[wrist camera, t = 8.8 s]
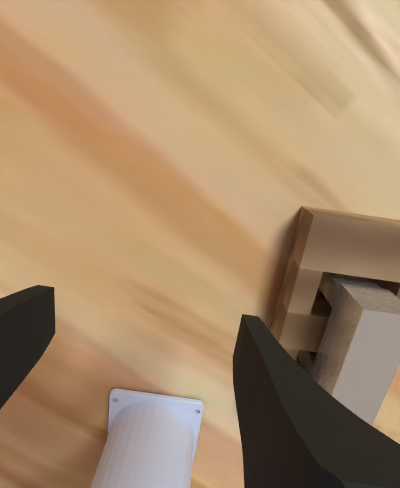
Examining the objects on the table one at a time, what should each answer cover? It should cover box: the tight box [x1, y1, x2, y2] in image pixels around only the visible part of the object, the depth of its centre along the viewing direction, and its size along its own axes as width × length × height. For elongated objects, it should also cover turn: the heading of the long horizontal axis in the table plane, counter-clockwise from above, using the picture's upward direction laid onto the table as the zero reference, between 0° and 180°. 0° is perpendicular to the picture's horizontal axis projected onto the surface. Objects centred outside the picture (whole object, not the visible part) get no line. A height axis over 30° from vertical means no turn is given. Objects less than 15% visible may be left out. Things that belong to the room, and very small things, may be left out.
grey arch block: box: [298, 272, 400, 426], centre depth 20 cm, size 8×3×6 cm, turn 172°
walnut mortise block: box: [270, 206, 400, 369], centre depth 21 cm, size 16×8×2 cm, turn 172°
